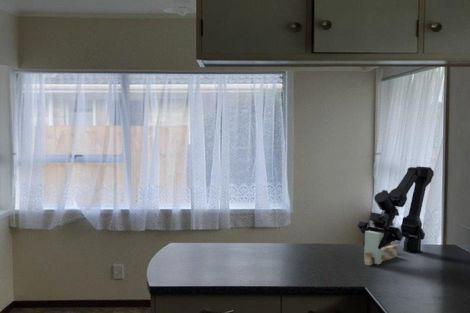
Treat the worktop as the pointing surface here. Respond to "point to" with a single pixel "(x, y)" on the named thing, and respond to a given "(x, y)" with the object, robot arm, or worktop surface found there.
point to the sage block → (373, 245)
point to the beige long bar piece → (386, 254)
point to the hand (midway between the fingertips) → (371, 246)
